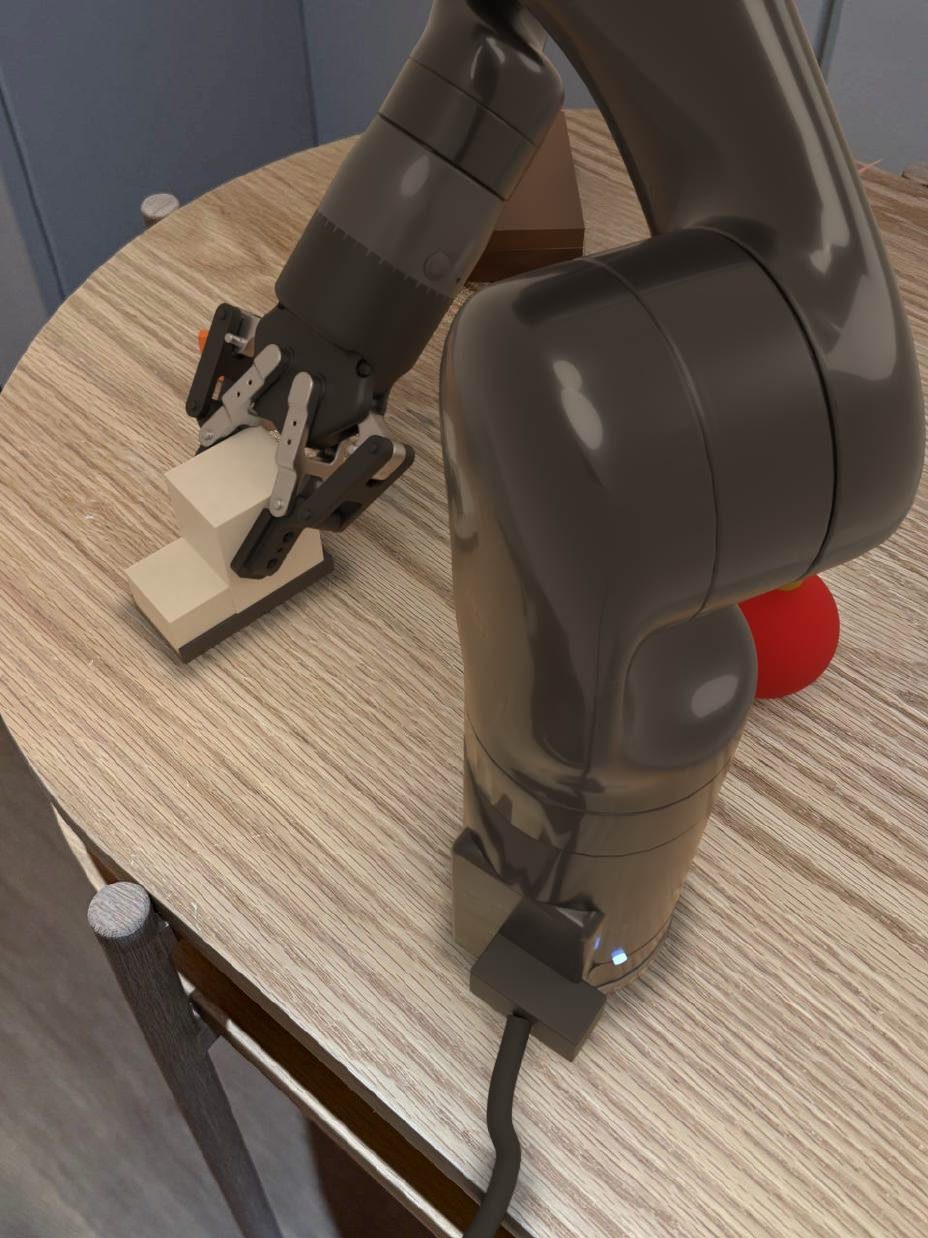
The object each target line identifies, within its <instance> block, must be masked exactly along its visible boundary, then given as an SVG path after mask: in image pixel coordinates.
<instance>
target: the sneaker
mask: <svg viewBox="0 0 928 1238" xmlns="http://www.w3.org/2000/svg"><path fill="white" fill-rule="evenodd" d="M278 444H279V440H277V439H276V438H275V437H274V436H273V435H272V434H271V433H270V432H268V431H267V430H266V429H264V428H263V427H262V426H259V427H253V426H249V427H248V428H246V429H244V430H242V431H240V432H239V433H237V434H235V435H233V436H231V437H229V438H228V439H226V440H224V441H222V442H220V443H218V444H217V445H215V446H213V447H211V448H209V449H208V450H206V451H204V452H202V453H200V454H198V455H197V456H195V455H194V456H195V457H194V456H193V457H191V458H189V459H187V460H186V461H184V462H182V463H180V464H178V465H177V466H174V467H173V468H171V469H170V470H169V469H168V470H167V471H166V472H164V473H163V478H164V482H165V485H166V488H167V492H168V495H169V498H170V502H171V504H172V508H173V511H174V514H175V515H174V516H175V518H176V521H177V525H178V528H179V531H180V535H181V536H180V537H178V538H177V539H175V540H174V541H172V542H170V543H168V544H166V545H165V546H163V547H161V548H159V549H158V550H156V551H154V552H153V553H151V554H149V555H148V556H146V557H144V558H142V559H140V560H139V561H136V562H135V563H133V564H132V565H129V567H128V566H127V568H125V569H124V570H123V573H124V575H125V578H126V581H127V584H128V585H129V586H128V587H129V589H130V592H131V597H132V600H133V603H134V605H135V607H136V609H137V611H138V612H139V613H140V614H141V615H142V616H143V617H144V618H145V620H146V621H147V622H148V623H149V625H150V626H151V627H152V628H153V629H154V630H155V632H157V634H158V635H159V636H160V637H161V638H162V640H163V641H164V642H165V643H166V644H167V646H168V647H169V648H171V650H172V651H173V653H175V654H176V656H177V658H178V659H180V661H181V662H182V663H183V664H187V663H189V662H190V661H192V660H194V659H195V658H197V657H198V656H200V655H201V654H204V653H205V652H207V651H208V650H210V649H211V648H213V647H215V646H216V645H217V644H219V643H221V642H222V641H224V640H226V639H227V638H228V637H231V635H233V634H235V633H236V632H238V631H240V630H241V629H244V628H245V627H246V626H247V625H249V624H251V623H252V622H254V621H256V620H257V619H259V618H261V617H262V616H264V615H265V614H267V613H269V612H270V611H272V610H273V609H274V608H276V607H278V606H279V605H281V604H283V603H284V602H285V601H287V600H290V599H291V598H292V597H294V596H295V595H297V594H299V593H301V592H302V591H303V590H305V589H307V588H309V587H310V586H312V585H313V584H314V583H316V582H317V581H319V580H321V579H322V578H324V577H325V576H327V575H329V574H331V573H332V572H333V571H335V564H334V557H333V555H331V553H330V552H329V551H327V549H325V548H324V547H323V546H322V540H321V533H320V530H317V529H312V528H305V529H304V530H303V531H302V532H301V534H300V536H299V537H298V539H297V541H296V542H295V544H294V546H293V547H292V549H291V550H290V552H289V554H287V557H286V559H285V560H284V561H283V563H282V565H281V567H280V568H279V570H278V571H277V572H276V573H274V574H273V575H272V576H266V577H265V578H263V579H261V580H256V579H248V578H240V577H239V576H238V575H237V574H236V573H235V572H234V571H233V570H232V569H231V567H230V564H231V562H232V560H233V558H234V556H235V555H236V553H237V551H238V550H239V548H240V546H241V545H242V543H243V541H244V540H245V538H246V536H247V535H248V533H249V531H250V530H251V528H252V526H253V525H254V523H255V521H256V520H257V518H258V516H259V515H260V513H261V511H262V510H263V508H267V509H269V500H270V497H271V493H272V490H273V486H274V483H275V480H276V476H277V473H278V465H277V464H276V462H275V454H276V451H277V447H278ZM309 479H310V474H306V475H304V477H303V478H302V481H301V485H300V488H299V491H298V495H297V496H299V495H300V494H301V492H302V490H303V489H304V487H305V485H306V484H307V482H308V480H309Z"/></svg>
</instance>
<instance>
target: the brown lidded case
mask: <svg viewBox="0 0 928 1238" xmlns="http://www.w3.org/2000/svg"><path fill="white" fill-rule="evenodd" d="M566 119H567V118H566V114H565V111H563V110H561V113H560V115H559V117H558V119H557V121H556V123H555V125H554V127H553V128H552V130H551V132H550V134H549V136H548V137H547V139H546V141H545V142H544V144H543V146H542V148H541V149H540V150H538V151H539V153H538V154H537V156H536V158H535V159H534V161H533V162H532V164H531V166H530V167H529V169H528V171H527V172H526V174H525V175H524V177H523V179H522V180H521V182H520V184H519V185H518V187H517V188H516V190H515V192H514V193H513V195H512V197H511V198H510V200H509V201H504V202H505V203H506V206H505V208H504V210H503V212H502V214H501V215H500V218H499V220H498V222H497V224H496V226H495V228H494V231H493V233H492V235H491V238H490V240H489V242H488V244H487V246H486V248H485V250H484V252H483V254H482V255H481V257H480V259H479V260H478V262H477V264H476V265H475V267H474V269H473V270H472V272H471V274H470V275H469V277H468V278H467V280H466V282H465V283H473V282H497V281H500V280H503V279H506V278H509V277H513V276H516V275H519V274H522V273H526V272H529V271H533V270H536V269H540V268H543V267H547V266H550V265H554V264H557V263H561V262H564V261H571V260H573V259H576V258H579V257H583V255H584V254H583V253H584V245H585V235H586V225H585V219H584V215H583V209H582V203H581V199H580V191H579V185H578V180H577V176H576V170H575V164H574V158H573V152H572V146H571V143H570V142H571V141H570V136H569V131H568V125H567V120H566Z"/></svg>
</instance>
